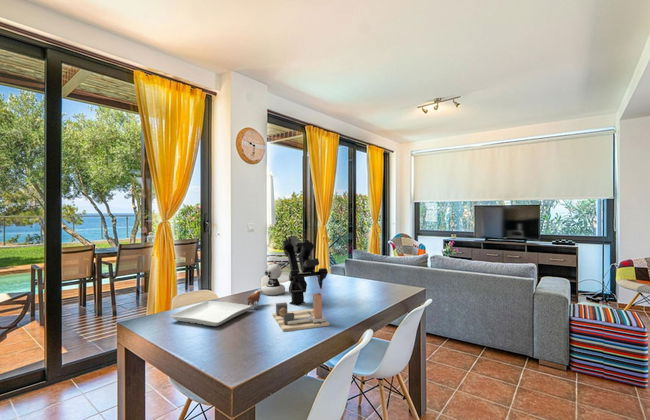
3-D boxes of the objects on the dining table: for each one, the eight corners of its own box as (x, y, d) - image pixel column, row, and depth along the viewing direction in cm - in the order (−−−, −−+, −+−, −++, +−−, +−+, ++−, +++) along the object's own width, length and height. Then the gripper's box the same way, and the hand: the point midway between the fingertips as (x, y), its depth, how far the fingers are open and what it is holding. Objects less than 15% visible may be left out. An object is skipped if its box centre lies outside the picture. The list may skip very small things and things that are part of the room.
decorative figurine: (256, 293, 204) (255, 261, 204) (272, 289, 216) (272, 258, 216) (273, 297, 195) (273, 263, 195) (290, 292, 207) (289, 260, 207)
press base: (272, 315, 161) (272, 303, 161) (313, 310, 168) (313, 299, 168) (283, 331, 140) (282, 317, 140) (329, 325, 147) (329, 311, 147)
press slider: (282, 322, 148) (282, 295, 148) (321, 317, 154) (321, 292, 154) (286, 326, 142) (285, 299, 142) (325, 321, 148) (325, 295, 148)
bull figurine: (264, 303, 183) (264, 288, 183) (251, 310, 170) (251, 294, 170) (258, 302, 184) (257, 287, 184) (244, 309, 172) (244, 293, 172)
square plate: (168, 323, 152) (168, 315, 152) (208, 307, 178) (208, 299, 178) (217, 330, 143) (217, 321, 143) (252, 312, 168) (252, 304, 168)
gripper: (290, 253, 159) (296, 281, 149) (326, 251, 165) (334, 278, 155) (286, 267, 166) (291, 294, 156) (321, 265, 173) (328, 291, 162)
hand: (312, 289), depth 157 cm, fingers open, 9 cm apart
